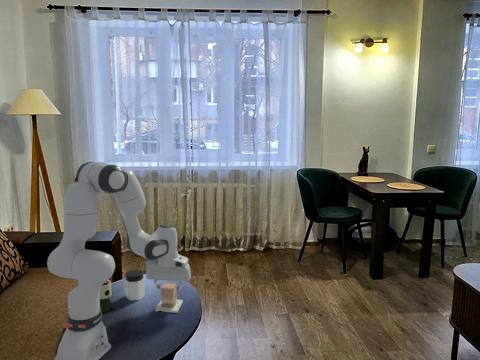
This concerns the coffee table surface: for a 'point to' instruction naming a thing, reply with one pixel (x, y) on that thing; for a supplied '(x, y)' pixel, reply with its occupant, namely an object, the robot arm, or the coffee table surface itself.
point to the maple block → (169, 302)
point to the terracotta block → (168, 291)
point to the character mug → (105, 296)
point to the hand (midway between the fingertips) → (168, 288)
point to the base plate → (166, 309)
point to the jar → (134, 285)
